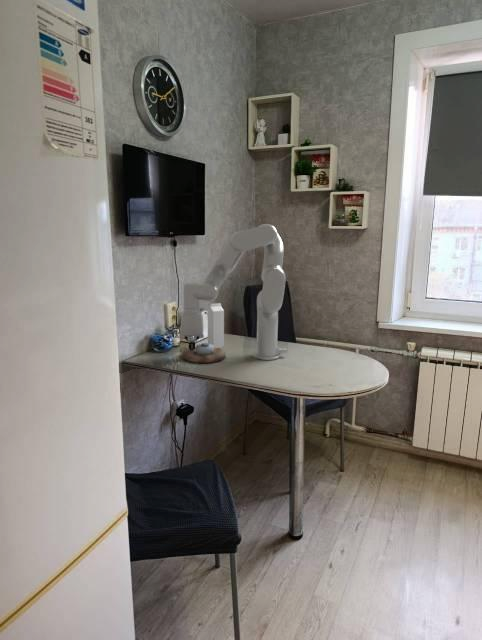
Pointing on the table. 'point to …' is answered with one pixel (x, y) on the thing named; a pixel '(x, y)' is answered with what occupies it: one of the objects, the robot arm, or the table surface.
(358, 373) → the table surface
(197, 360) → the turntable
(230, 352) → the table surface
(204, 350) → the cover
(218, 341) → the milk
